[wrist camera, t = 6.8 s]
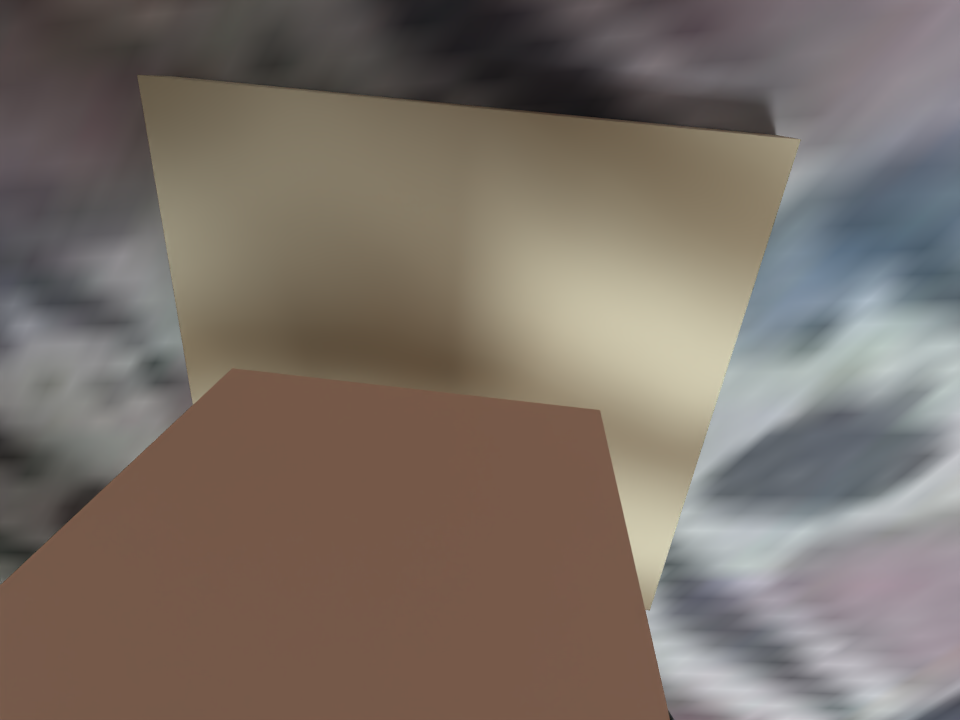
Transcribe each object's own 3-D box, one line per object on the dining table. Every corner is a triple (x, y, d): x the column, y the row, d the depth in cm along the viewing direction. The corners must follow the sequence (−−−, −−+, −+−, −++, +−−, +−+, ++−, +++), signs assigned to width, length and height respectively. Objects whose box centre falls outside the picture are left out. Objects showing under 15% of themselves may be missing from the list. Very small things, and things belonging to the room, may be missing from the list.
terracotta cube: (547, 656, 11) (565, 1156, 6) (264, 620, 12) (38, 1072, 6) (599, 410, 9) (712, 905, 3) (231, 368, 9) (-204, 775, 4)
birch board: (642, 580, 19) (649, 610, 18) (235, 530, 19) (218, 556, 18) (776, 135, 12) (800, 139, 11) (169, 76, 13) (137, 74, 12)
